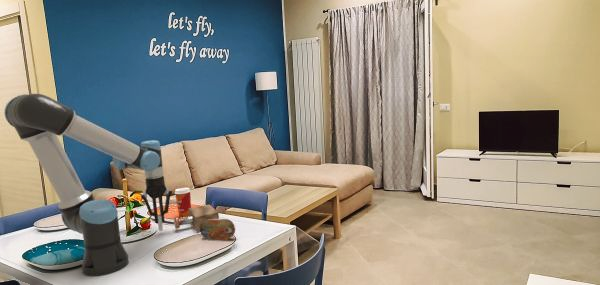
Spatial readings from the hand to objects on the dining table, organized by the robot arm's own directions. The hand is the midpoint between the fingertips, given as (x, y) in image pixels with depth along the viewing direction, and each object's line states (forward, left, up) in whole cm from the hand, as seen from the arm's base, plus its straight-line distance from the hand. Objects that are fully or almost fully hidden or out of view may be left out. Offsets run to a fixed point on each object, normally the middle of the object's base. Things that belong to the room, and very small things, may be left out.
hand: (160, 229), depth 178 cm
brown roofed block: (0, -13, -1) cm, 13 cm away
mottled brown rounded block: (-21, -20, -2) cm, 29 cm away
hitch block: (0, -19, -2) cm, 19 cm away
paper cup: (+19, -14, -2) cm, 24 cm away
